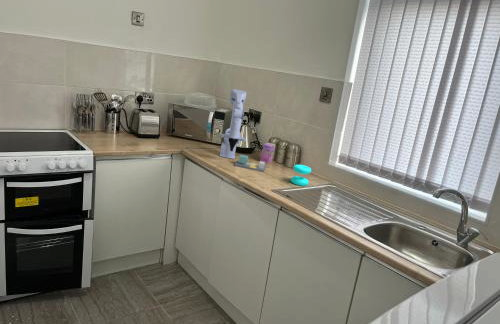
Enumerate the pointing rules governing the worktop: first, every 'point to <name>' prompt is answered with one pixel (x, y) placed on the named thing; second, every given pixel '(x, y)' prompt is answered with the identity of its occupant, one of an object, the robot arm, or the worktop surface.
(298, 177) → the donuts
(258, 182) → the worktop surface
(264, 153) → the box
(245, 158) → the sleeve
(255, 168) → the board
